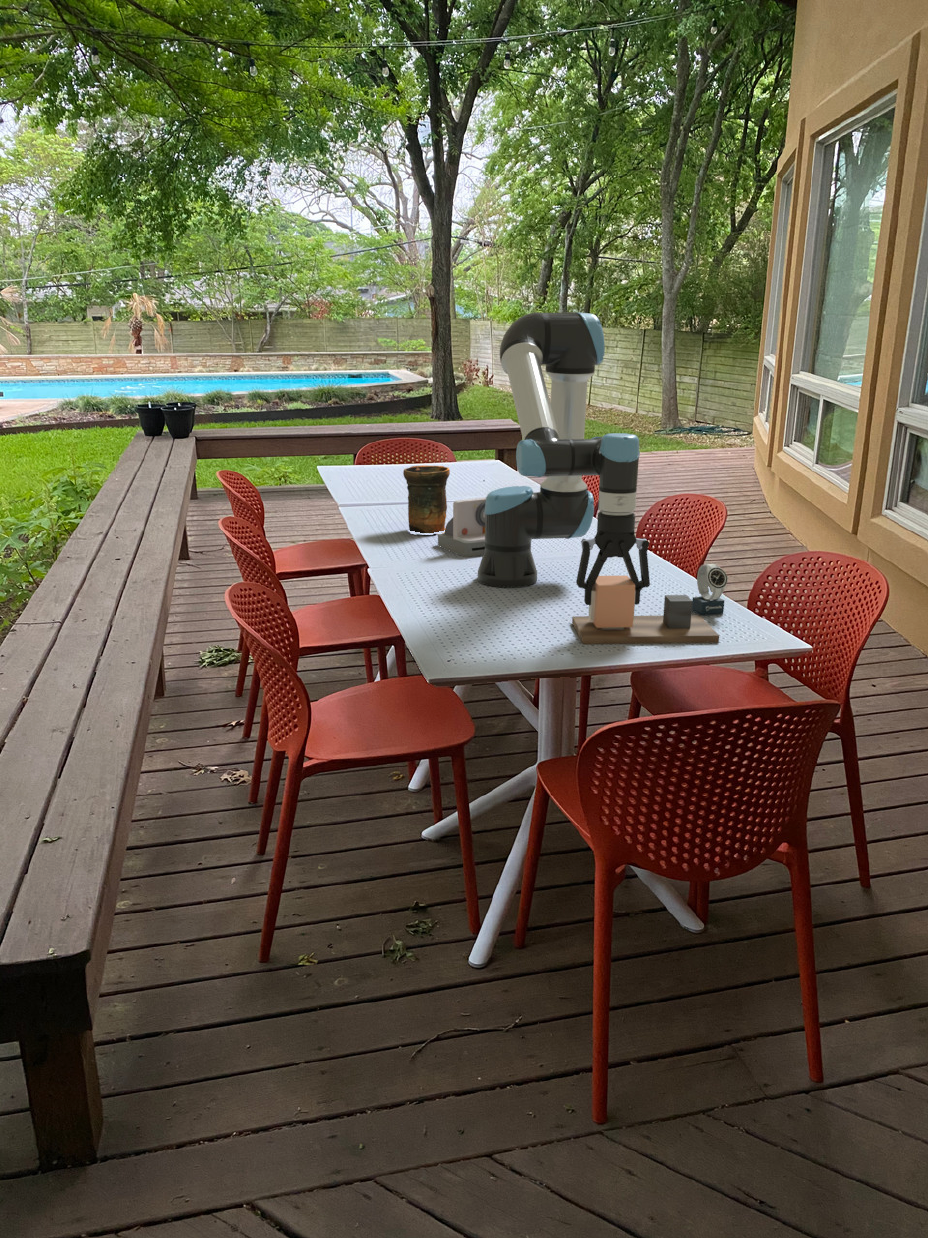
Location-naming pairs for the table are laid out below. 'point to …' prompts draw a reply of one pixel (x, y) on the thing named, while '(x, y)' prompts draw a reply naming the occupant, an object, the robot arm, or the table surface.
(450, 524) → the instant camera
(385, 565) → the table surface
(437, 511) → the vessel
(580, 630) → the post board
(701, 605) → the watch
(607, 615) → the peach cube
